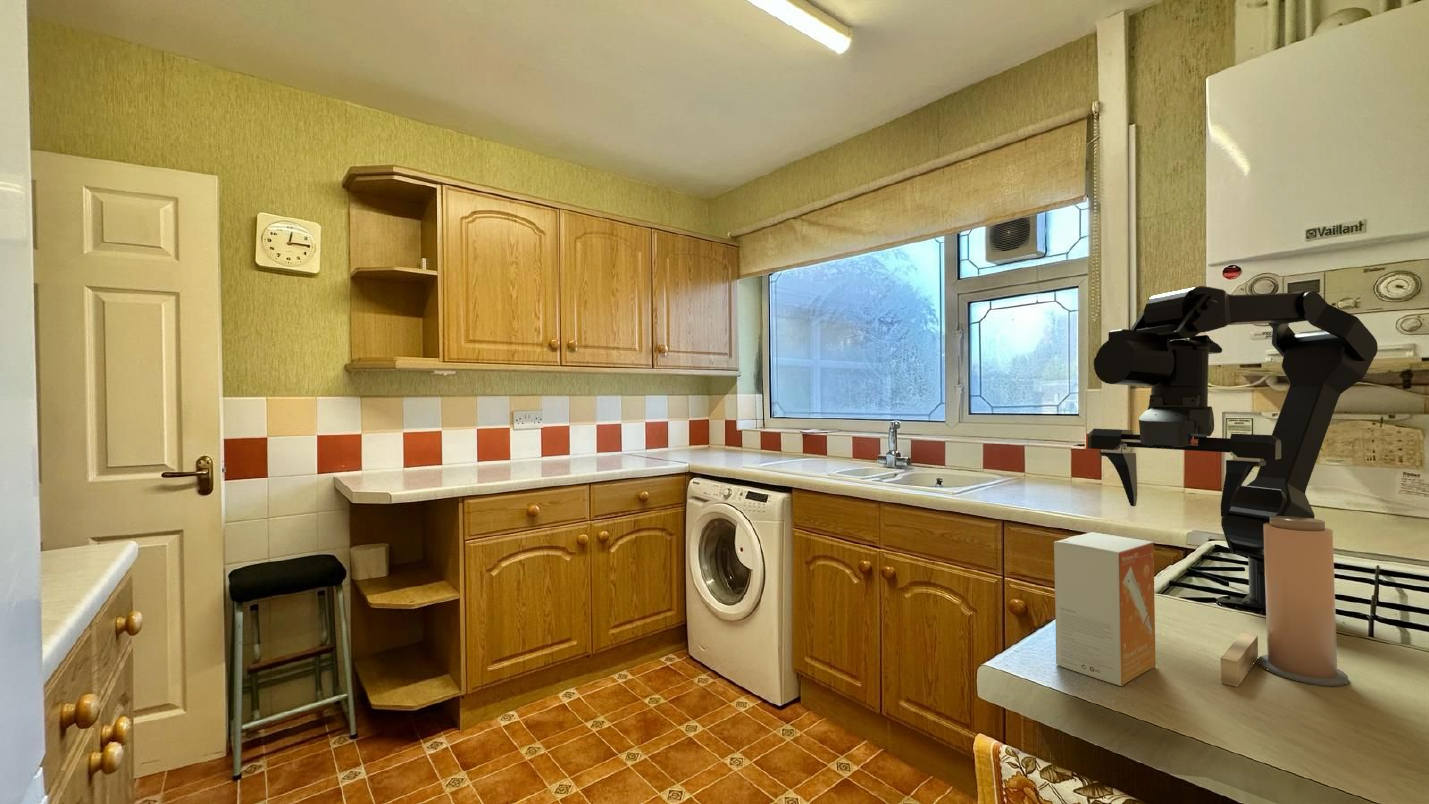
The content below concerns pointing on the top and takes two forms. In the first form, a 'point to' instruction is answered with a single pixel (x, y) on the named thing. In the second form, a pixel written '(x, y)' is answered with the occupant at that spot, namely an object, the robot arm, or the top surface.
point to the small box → (1105, 606)
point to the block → (1239, 659)
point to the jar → (1300, 596)
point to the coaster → (1335, 681)
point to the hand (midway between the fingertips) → (1176, 511)
